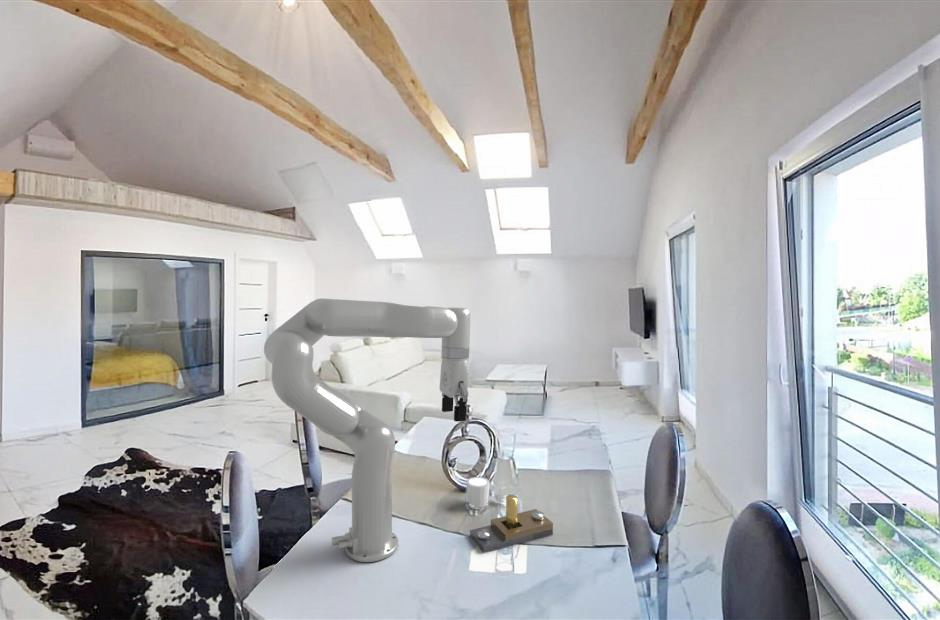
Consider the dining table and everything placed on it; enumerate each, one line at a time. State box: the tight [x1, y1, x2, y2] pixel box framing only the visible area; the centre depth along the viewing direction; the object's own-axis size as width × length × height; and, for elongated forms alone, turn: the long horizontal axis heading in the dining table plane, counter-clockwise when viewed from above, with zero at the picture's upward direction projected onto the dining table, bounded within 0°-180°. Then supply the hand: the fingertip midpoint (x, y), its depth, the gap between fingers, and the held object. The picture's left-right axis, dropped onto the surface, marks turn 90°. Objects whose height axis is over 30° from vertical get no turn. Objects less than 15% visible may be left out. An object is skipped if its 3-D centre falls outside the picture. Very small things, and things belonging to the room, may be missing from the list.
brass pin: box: [505, 494, 519, 530], centre depth 114 cm, size 3×3×10 cm
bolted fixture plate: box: [469, 508, 554, 554], centre depth 115 cm, size 20×8×4 cm, turn 115°
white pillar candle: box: [466, 476, 491, 507], centre depth 131 cm, size 7×7×7 cm
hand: (453, 416), depth 121 cm, fingers open, 9 cm apart
